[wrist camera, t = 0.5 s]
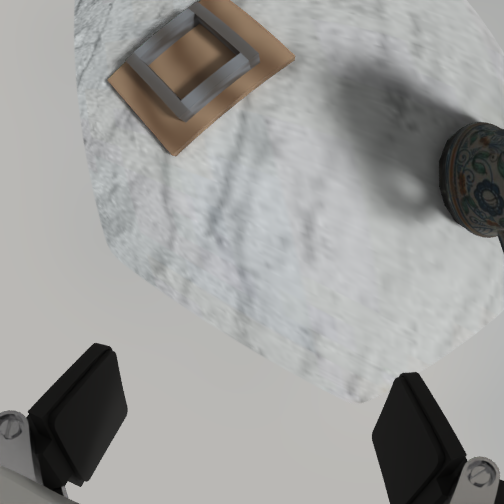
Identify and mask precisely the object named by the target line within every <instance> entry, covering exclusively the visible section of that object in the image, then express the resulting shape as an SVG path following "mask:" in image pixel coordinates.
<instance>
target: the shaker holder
mask: <svg viewBox="0 0 504 504" xmlns="http://www.w3.org/2000/svg"><path fill="white" fill-rule="evenodd" d="M294 60H295V55H294V54H293V53H291V52H290V51H289V50H288V49H287V48H286V47H285V46H284V45H283V44H282V43H281V42H280V41H279V40H278V39H276V38H275V37H274V36H273V35H272V34H271V33H270V32H269V31H267V30H266V29H265V28H264V27H263V26H262V25H260V24H259V23H258V22H257V21H256V20H254V19H253V18H252V17H251V16H250V15H248V14H247V13H246V12H245V11H243V10H242V9H241V8H239V7H238V6H237V5H236V4H234V3H233V2H232V1H230V0H201V1H199V2H195V3H194V4H193V5H191V6H190V7H188V8H187V9H186V10H184V11H183V12H182V13H180V14H179V15H178V16H176V17H175V18H174V19H172V20H171V21H170V22H169V23H167V24H166V25H165V26H164V27H162V28H161V29H160V30H159V31H157V32H156V33H155V34H154V35H153V36H151V37H150V38H149V39H148V40H147V41H146V42H145V43H143V44H142V45H141V46H140V47H139V48H138V49H137V50H136V51H135V52H133V53H132V54H131V55H130V56H129V57H128V58H127V59H126V60H125V61H126V62H125V63H124V64H123V65H122V66H121V67H120V68H119V69H118V70H117V71H116V72H115V73H114V74H113V75H112V76H111V77H110V78H109V79H108V81H109V82H110V84H111V85H112V86H113V87H114V88H115V89H116V91H117V92H118V93H119V94H120V95H121V96H122V98H123V99H124V100H125V101H126V102H127V103H128V105H129V106H130V107H131V108H132V109H133V110H134V112H135V113H136V114H137V115H138V116H139V117H140V119H141V120H142V121H143V122H144V123H145V124H146V126H147V127H148V128H149V129H150V130H151V131H152V133H153V134H154V135H155V136H156V137H157V138H158V140H159V141H160V142H161V143H162V144H163V145H164V147H165V148H166V149H167V150H168V151H169V152H170V154H171V155H172V156H177V155H178V154H179V153H180V152H181V151H182V150H183V149H184V148H185V147H187V146H188V145H189V144H190V143H191V142H192V141H193V140H194V139H195V138H196V137H198V136H199V135H200V134H201V133H202V132H203V131H204V130H205V129H207V128H208V127H209V126H210V125H211V124H212V123H214V122H215V121H216V120H217V119H218V118H219V117H221V116H222V115H223V114H224V113H225V112H227V111H228V110H229V109H230V108H232V107H233V106H234V105H235V104H236V103H238V102H239V101H240V100H241V99H243V98H244V97H245V96H247V95H248V94H249V93H250V92H252V91H253V90H254V89H256V88H257V87H258V86H259V85H261V84H262V83H263V82H265V81H266V80H268V79H269V78H270V77H272V76H273V75H274V74H276V73H277V72H278V71H280V70H281V69H283V68H284V67H286V66H287V65H288V64H290V63H291V62H293V61H294Z"/></svg>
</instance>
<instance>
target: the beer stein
mask: <svg viewBox="0 0 504 504" xmlns="http://www.w3.org/2000/svg"><path fill="white" fill-rule="evenodd" d="M439 187H440V190H441V193H442V196H443V200H444V203H445V206H446V207H447V209H448V210H449V212H450V214H451V215H452V217H453V218H454V220H455V221H456V222H457V223H459V224H460V225H462V226H463V227H464V228H466V229H467V230H468V231H470V232H471V233H473V234H475V235H477V236H481V237H487V238H490V237H496V236H498V238H499V241H500V244H501V247H502V250H503V252H504V129H501V128H499V127H497V126H495V125H493V124H489V123H484V122H477V123H472V124H469V125H467V126H466V127H463V128H462V129H460V130H459V131H458V132H457V133H456V134H455V135H453V136H452V137H451V138H450V139H449V140H447V143H446V146H445V148H444V151H443V153H442V156H441V158H440V161H439Z"/></svg>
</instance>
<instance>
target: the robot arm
mask: <svg viewBox="0 0 504 504" xmlns="http://www.w3.org/2000/svg"><path fill="white" fill-rule="evenodd" d="M28 413H29V415H28V416H27V417H25V416H24V415H23V414H21V413H20V412H17V411H4V412H2V413H0V504H79V503H76V502H74V501H72V500H70V499H68V495H67V492H66V488H65V485H66V483H67V481H69V482H71V483H73V484H75V485H78V486H80V487H81V486H82V484H83V482H84V481H89V479H90V478H91V476H92V475H93V473H94V471H95V469H96V467H97V465H98V464H99V462H100V460H101V459H102V457H103V455H104V453H105V452H106V450H107V448H108V447H109V445H110V443H111V441H112V440H113V438H114V436H115V435H116V433H117V431H118V429H119V428H120V426H121V424H122V423H123V421H124V419H125V417H126V416H127V404H126V400H125V396H124V391H123V386H122V382H121V377H120V372H119V367H118V361H117V356H116V353H115V352H114V351H112V348H111V347H110V346H106V345H102V344H98V343H94V344H93V345H92V346H91V347H90V348H89V349H88V350H87V351H86V352H85V353H84V354H83V355H82V356H81V357H80V358H79V359H78V360H77V361H76V362H75V363H74V364H73V365H72V366H71V367H70V368H69V369H68V370H67V371H66V372H65V373H64V374H63V375H62V376H61V377H60V378H59V379H58V380H57V381H56V382H55V383H54V385H52V386H51V387H50V388H49V390H48V391H47V392H46V393H45V394H44V395H43V396H42V397H41V398H40V399H39V400H38V401H37V402H36V403H35V404H34V405H33V406H32V408H31V409H30V410H29V411H28ZM372 441H373V444H374V448H375V451H376V455H377V458H378V462H379V465H380V468H381V472H382V476H383V479H384V482H385V487H386V490H387V494H388V498H389V502H390V504H504V481H502V480H500V472H499V468H498V467H497V465H496V464H495V463H494V462H493V461H492V460H490V459H488V458H486V457H474V458H472V459H470V460H469V461H467V459H466V453H465V451H464V449H463V447H462V445H461V443H460V442H459V440H458V438H457V436H456V434H455V433H454V431H453V429H452V427H451V426H450V424H449V422H448V420H447V419H446V417H445V415H444V414H443V412H442V410H441V409H440V407H439V405H438V404H437V402H436V400H435V399H434V397H433V395H432V394H431V392H430V391H429V389H428V387H427V386H426V384H425V383H424V381H423V379H422V378H421V376H420V375H419V374H418V373H417V372H412V373H402V374H400V376H399V377H397V378H396V379H395V380H394V382H393V385H392V387H391V390H390V393H389V395H388V398H387V400H386V402H385V405H384V407H383V410H382V412H381V414H380V416H379V419H378V421H377V423H376V426H375V428H374V430H373V432H372Z"/></svg>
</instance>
